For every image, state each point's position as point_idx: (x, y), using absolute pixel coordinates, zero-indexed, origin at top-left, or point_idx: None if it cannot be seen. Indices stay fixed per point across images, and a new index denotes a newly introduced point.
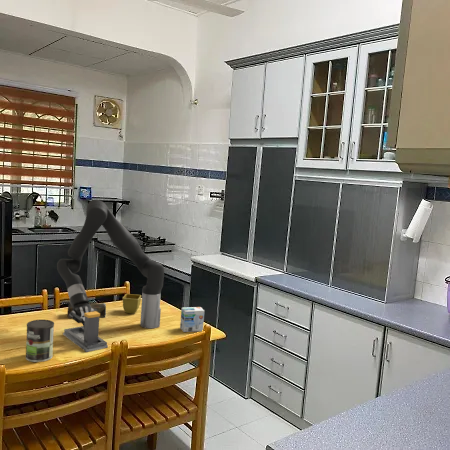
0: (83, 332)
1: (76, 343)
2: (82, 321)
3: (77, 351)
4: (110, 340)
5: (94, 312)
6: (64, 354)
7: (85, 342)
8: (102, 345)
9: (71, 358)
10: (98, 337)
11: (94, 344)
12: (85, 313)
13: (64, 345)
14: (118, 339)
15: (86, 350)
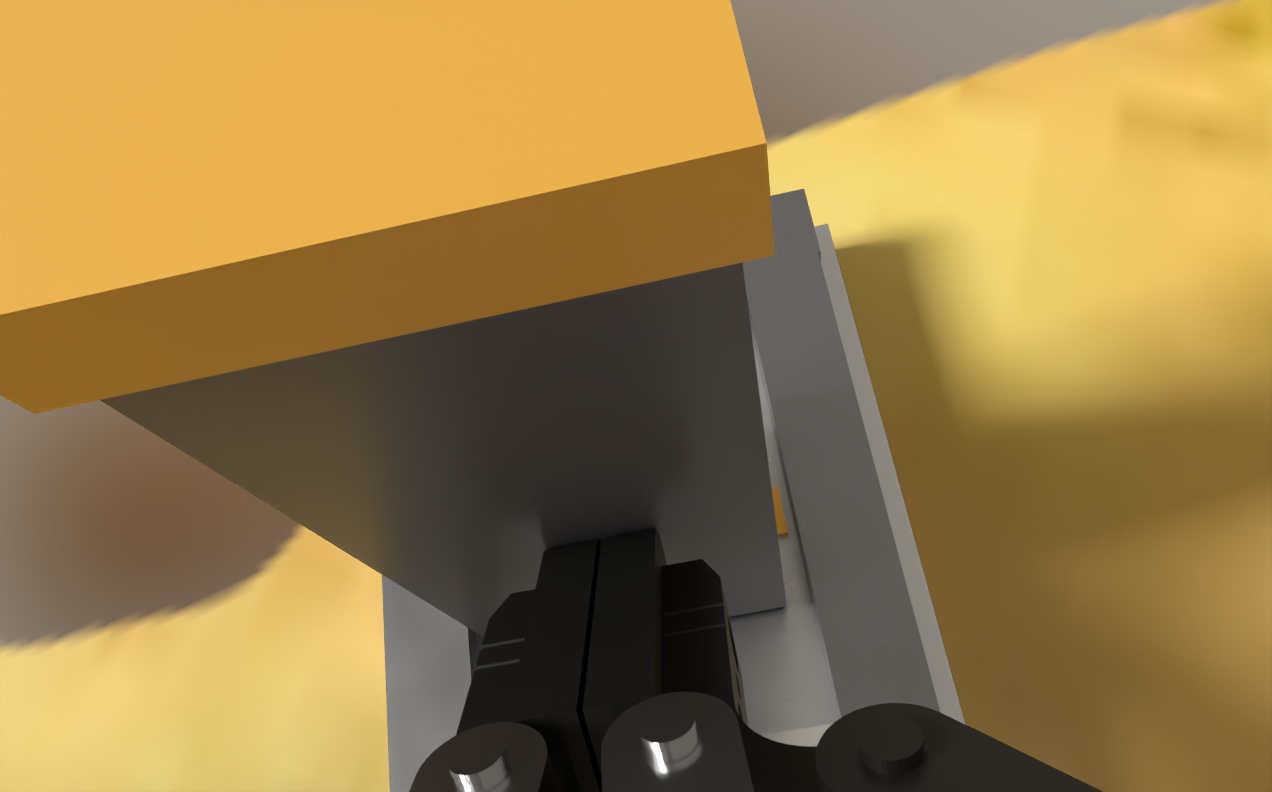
0: None
1: (953, 691)
2: (786, 753)
3: (985, 327)
4: (170, 690)
5: (122, 115)
6: (1267, 258)
7: (795, 393)
8: None
9: (1138, 71)
10: (408, 611)
11: None
12: (727, 31)
13: (1255, 766)
14: (8, 687)
15: (823, 231)
